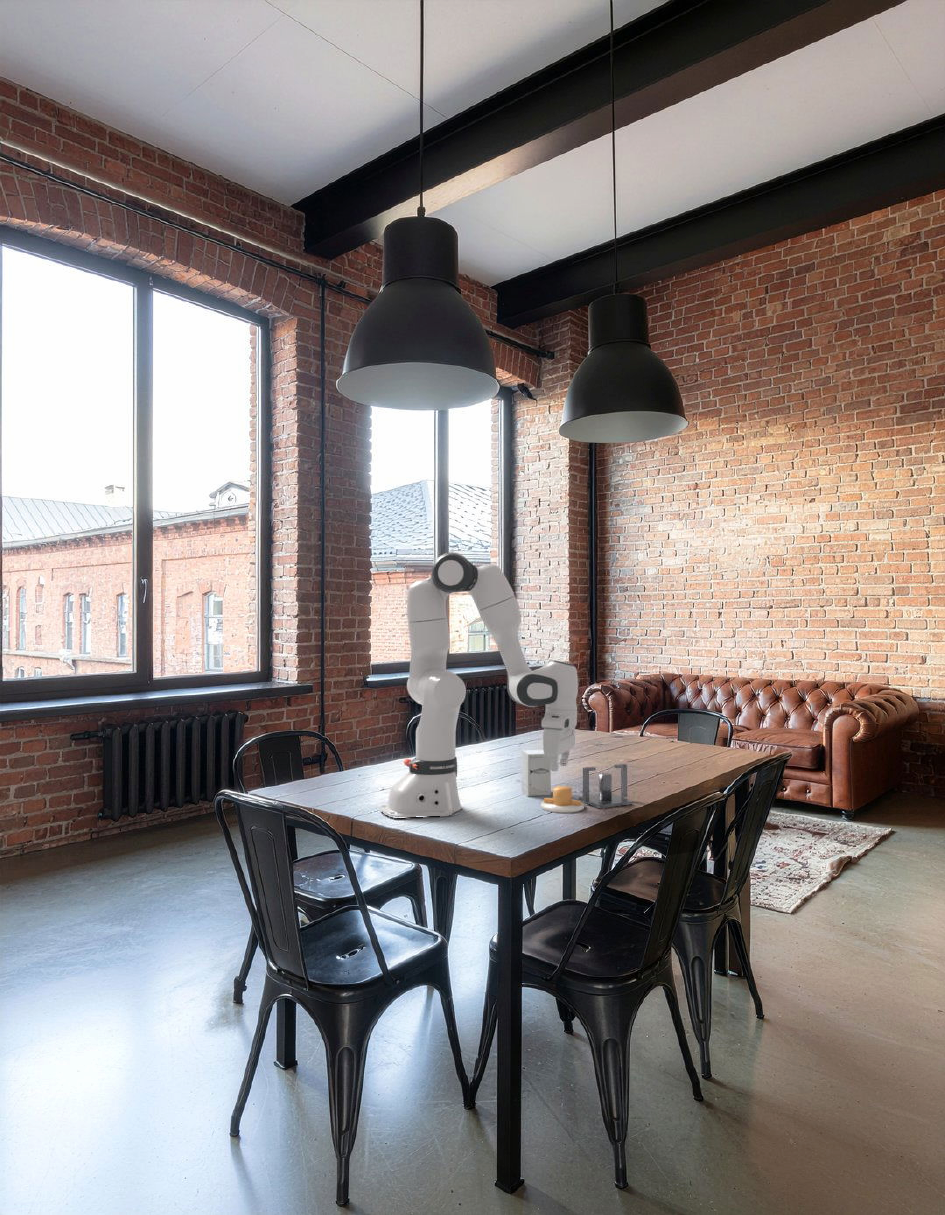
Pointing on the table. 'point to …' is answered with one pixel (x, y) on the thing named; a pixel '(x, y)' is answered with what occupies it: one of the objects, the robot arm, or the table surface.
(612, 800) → the grey display stand
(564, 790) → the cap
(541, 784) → the supplement box
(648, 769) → the table surface
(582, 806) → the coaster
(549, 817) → the table surface
